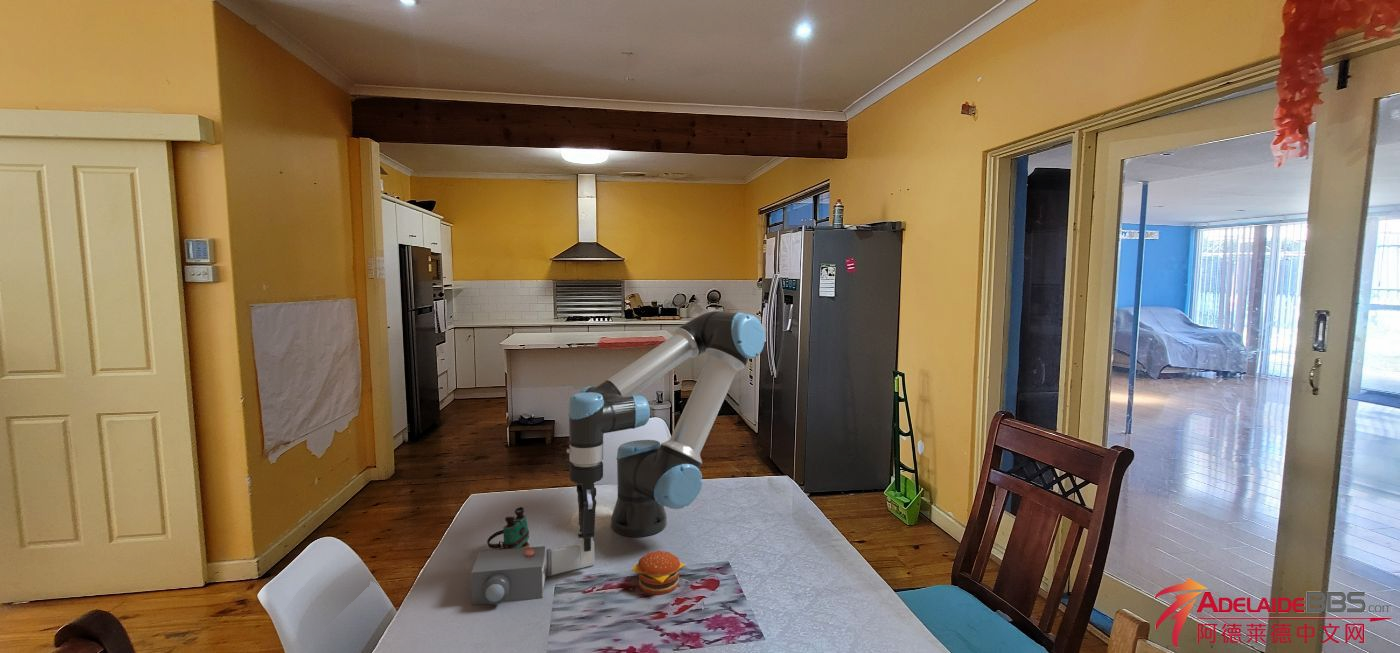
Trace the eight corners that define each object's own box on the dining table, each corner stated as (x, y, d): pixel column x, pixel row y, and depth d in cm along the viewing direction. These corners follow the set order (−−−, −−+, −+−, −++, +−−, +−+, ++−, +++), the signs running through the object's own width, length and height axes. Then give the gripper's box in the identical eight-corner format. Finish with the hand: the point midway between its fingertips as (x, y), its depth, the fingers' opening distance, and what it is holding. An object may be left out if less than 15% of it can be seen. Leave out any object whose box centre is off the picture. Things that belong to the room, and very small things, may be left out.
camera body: (546, 575, 128) (546, 542, 127) (542, 605, 116) (541, 569, 115) (480, 581, 125) (479, 547, 124) (469, 612, 113) (468, 575, 113)
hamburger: (629, 587, 123) (628, 558, 123) (655, 568, 131) (655, 541, 131) (663, 601, 118) (663, 570, 118) (688, 580, 126) (688, 552, 126)
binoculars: (496, 505, 142) (532, 505, 140) (501, 545, 143) (537, 545, 141) (475, 520, 134) (513, 520, 132) (481, 563, 134) (518, 563, 132)
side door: (546, 574, 127) (545, 549, 127) (593, 563, 133) (592, 538, 132) (547, 576, 126) (546, 551, 126) (594, 565, 132) (594, 540, 131)
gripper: (566, 454, 131) (566, 551, 133) (572, 473, 119) (573, 579, 121) (598, 451, 134) (598, 546, 136) (607, 469, 122) (607, 573, 124)
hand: (586, 561), depth 129 cm, fingers closed
